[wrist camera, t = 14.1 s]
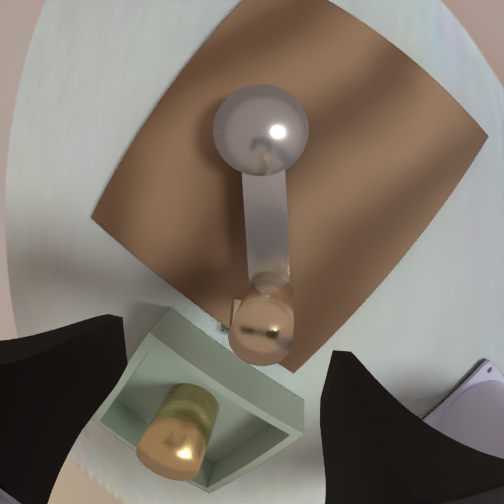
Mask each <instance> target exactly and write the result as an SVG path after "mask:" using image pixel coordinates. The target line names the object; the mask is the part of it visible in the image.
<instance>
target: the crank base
mask: <svg viewBox="0 0 504 504" xmlns="http://www.w3.org/2000/svg"><path fill="white" fill-rule="evenodd" d="M256 84H267V85H272V86H276V87H279V88H282V89H284V90H285V91H287V92H289V93H290V94H291V95H293V96H294V97H295V98H296V99H297V100H298V102H299V103H300V104H301V106H302V107H303V109H304V111H305V113H306V116H307V119H308V125H309V134H308V140H307V143H306V146H305V148H304V151H303V153H302V155H301V156H300V158H299V159H298V160H297V162H296V163H295V164H293V165H292V166H291V167H290V168H288V169H287V170H286V187H287V207H288V230H289V257H290V283H291V285H292V287H293V290H294V326H293V345H292V348H291V350H290V352H289V354H288V355H287V356H286V357H285V358H284V359H283V360H281V361H280V362H278V363H279V364H280V365H282V366H283V367H285V368H286V369H288V370H289V371H291V372H292V373H295V372H296V371H297V370H298V369H299V368H300V367H301V366H302V365H303V364H304V363H305V362H306V361H307V360H308V359H309V358H310V357H311V356H312V355H313V354H314V353H316V352H317V351H318V350H319V349H320V348H321V347H322V346H323V345H324V344H325V343H326V342H327V341H328V340H329V339H330V338H331V337H332V336H333V335H334V333H335V332H336V331H337V330H338V329H339V328H340V327H341V326H342V325H343V324H344V323H345V322H346V321H347V320H348V319H349V318H350V317H351V316H352V315H353V314H354V313H355V311H356V310H357V309H358V308H359V307H360V306H361V305H362V304H363V303H364V302H365V301H366V299H367V298H368V297H369V296H370V295H371V294H372V293H373V292H374V290H375V289H376V288H377V287H378V286H379V285H380V284H381V283H382V281H383V280H384V279H385V278H386V277H387V276H388V274H389V273H390V272H391V271H392V270H393V268H394V267H395V266H396V265H397V264H398V263H399V261H400V260H401V259H402V258H403V256H404V255H405V254H406V253H407V252H408V250H409V249H410V248H411V247H412V245H413V244H414V243H415V242H416V240H417V239H418V238H419V236H420V235H421V234H422V233H423V231H424V230H425V229H426V227H427V226H428V225H429V223H430V222H431V221H432V219H433V218H434V217H435V215H436V214H437V213H438V211H439V210H440V209H441V207H442V206H443V205H444V203H445V202H446V200H447V199H448V198H449V196H450V195H451V193H452V192H453V190H454V189H455V188H456V186H457V185H458V183H459V182H460V180H461V179H462V177H463V176H464V174H465V173H466V171H467V170H468V168H469V167H470V165H471V164H472V162H473V161H474V159H475V157H476V156H477V154H478V153H479V151H480V150H481V148H482V146H483V145H484V143H485V141H486V140H487V138H488V135H487V134H486V133H485V132H484V130H483V129H482V128H481V127H480V126H479V125H478V124H477V122H476V121H475V120H474V119H473V118H472V117H471V116H470V115H469V113H468V112H467V111H466V110H465V109H464V108H463V107H462V106H461V105H460V104H459V103H458V102H457V101H456V100H455V99H454V98H453V97H452V96H451V95H450V94H449V93H448V92H447V91H446V90H445V89H444V88H443V87H442V86H441V85H440V84H439V83H438V82H437V81H436V80H435V79H434V78H433V77H431V76H430V75H429V74H428V73H427V72H426V71H425V70H424V69H423V68H421V67H420V66H419V65H418V64H417V63H416V62H414V61H413V60H412V59H411V58H410V57H409V56H407V55H406V54H405V53H404V52H402V51H401V50H400V49H399V48H397V47H396V46H395V45H394V44H392V43H391V42H390V41H388V40H387V39H386V38H384V37H383V36H382V35H380V34H379V33H377V32H376V31H375V30H373V29H372V28H370V27H369V26H368V25H366V24H365V23H363V22H362V21H360V20H359V19H357V18H356V17H354V16H353V15H351V14H350V13H348V12H346V11H345V10H343V9H342V8H340V7H338V6H337V5H335V4H333V3H332V2H330V1H328V0H243V1H242V2H241V3H240V4H239V5H238V7H237V8H236V9H235V10H234V11H233V12H232V13H231V14H230V15H229V16H228V17H227V18H226V19H225V20H224V22H223V23H222V24H221V25H220V26H219V27H218V28H217V29H216V31H215V32H214V33H213V34H212V35H211V36H210V37H209V39H208V40H207V41H206V42H205V43H204V45H203V46H202V47H201V48H200V49H199V51H198V52H197V53H196V54H195V56H194V57H193V58H192V59H191V61H190V62H189V63H188V64H187V66H186V67H185V68H184V69H183V71H182V72H181V73H180V75H179V76H178V77H177V79H176V80H175V81H174V83H173V84H172V85H171V87H170V88H169V89H168V91H167V92H166V94H165V95H164V96H163V98H162V99H161V101H160V102H159V104H158V105H157V106H156V108H155V109H154V111H153V112H152V114H151V115H150V117H149V118H148V120H147V121H146V123H145V124H144V126H143V127H142V129H141V130H140V132H139V134H138V135H137V137H136V138H135V140H134V142H133V143H132V145H131V146H130V148H129V150H128V151H127V153H126V155H125V156H124V158H123V160H122V161H121V163H120V165H119V167H118V168H117V170H116V172H115V174H114V175H113V177H112V179H111V181H110V182H109V184H108V186H107V188H106V190H105V192H104V194H103V195H102V197H101V199H100V201H99V203H98V205H97V207H96V209H95V211H94V213H93V215H92V217H91V218H92V219H93V220H94V221H95V222H96V223H97V224H98V225H100V226H101V227H102V228H103V229H104V230H105V231H106V232H108V233H109V234H110V235H111V236H112V237H113V238H115V239H116V240H117V241H118V242H119V243H120V244H122V245H123V246H124V247H125V248H126V249H128V250H129V251H130V252H131V253H132V254H134V255H135V256H136V257H137V258H138V259H140V260H141V261H142V262H143V263H144V264H146V265H147V266H148V267H149V268H151V269H152V270H153V271H154V272H155V273H157V274H158V275H159V276H160V277H162V278H163V279H164V280H165V281H167V282H168V283H169V284H171V285H172V286H173V287H174V288H176V289H177V290H178V291H179V292H181V293H182V294H183V295H185V296H186V297H187V298H189V299H190V300H191V301H192V302H194V303H195V304H196V305H198V306H199V307H200V308H202V309H203V310H204V311H206V312H207V313H208V314H210V315H211V316H212V317H214V318H215V319H216V320H218V321H219V322H220V323H222V324H223V325H225V326H226V327H227V328H229V329H230V327H231V324H232V322H233V319H234V317H235V315H236V312H237V310H238V307H239V305H240V303H241V300H242V298H243V295H244V293H245V291H246V288H247V286H248V284H249V275H248V260H247V245H246V230H245V215H244V199H243V184H242V172H240V171H238V170H236V169H234V168H233V167H232V166H230V165H229V164H228V163H227V162H226V161H225V160H224V159H223V158H222V156H221V155H220V153H219V152H218V150H217V148H216V145H215V142H214V137H213V124H214V119H215V116H216V113H217V111H218V109H219V107H220V106H221V104H222V103H223V102H224V101H225V99H226V98H228V97H229V96H230V95H231V94H232V93H234V92H235V91H237V90H239V89H241V88H243V87H246V86H250V85H256Z"/></svg>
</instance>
